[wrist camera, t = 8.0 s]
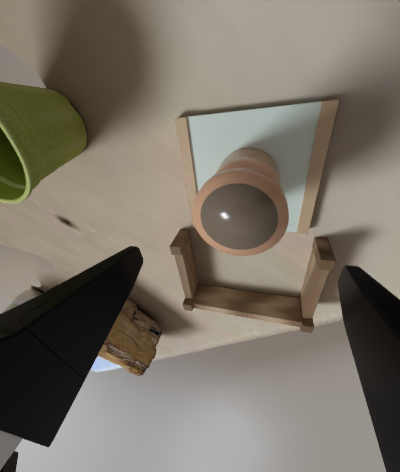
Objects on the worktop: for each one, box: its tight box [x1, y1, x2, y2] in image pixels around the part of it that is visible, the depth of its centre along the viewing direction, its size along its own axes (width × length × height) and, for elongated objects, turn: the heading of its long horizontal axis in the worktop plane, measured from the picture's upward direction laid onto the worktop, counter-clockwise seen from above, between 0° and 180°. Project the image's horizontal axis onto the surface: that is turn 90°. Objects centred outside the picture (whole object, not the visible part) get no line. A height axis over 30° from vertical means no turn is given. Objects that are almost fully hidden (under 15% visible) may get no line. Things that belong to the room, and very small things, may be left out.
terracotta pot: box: [192, 148, 289, 256], centre depth 16 cm, size 6×6×7 cm
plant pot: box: [0, 82, 87, 204], centre depth 18 cm, size 9×9×9 cm
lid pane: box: [175, 99, 339, 234], centre depth 19 cm, size 12×11×1 cm
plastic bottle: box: [2, 289, 42, 313], centre depth 43 cm, size 6×7×20 cm
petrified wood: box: [98, 298, 162, 376], centre depth 39 cm, size 19×13×10 cm
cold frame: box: [170, 229, 336, 333], centre depth 24 cm, size 16×11×4 cm
